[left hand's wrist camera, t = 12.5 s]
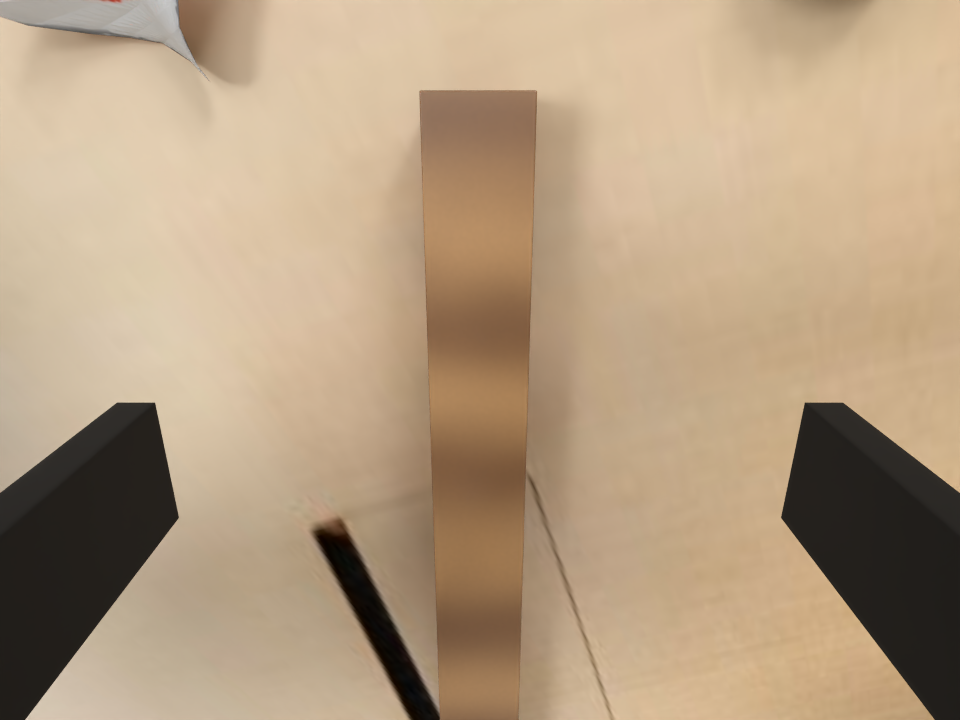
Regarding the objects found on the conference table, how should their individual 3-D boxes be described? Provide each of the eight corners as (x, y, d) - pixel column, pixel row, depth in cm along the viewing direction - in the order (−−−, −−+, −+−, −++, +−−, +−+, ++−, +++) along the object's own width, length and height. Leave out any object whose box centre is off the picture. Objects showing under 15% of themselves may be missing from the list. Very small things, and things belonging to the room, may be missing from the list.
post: (433, 97, 33) (419, 90, 26) (524, 97, 33) (537, 90, 26) (451, 812, 54) (446, 923, 47) (507, 812, 54) (512, 923, 47)
